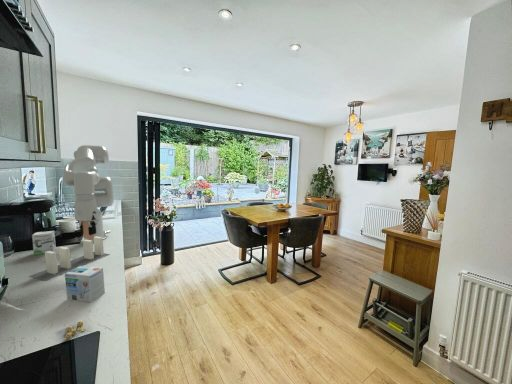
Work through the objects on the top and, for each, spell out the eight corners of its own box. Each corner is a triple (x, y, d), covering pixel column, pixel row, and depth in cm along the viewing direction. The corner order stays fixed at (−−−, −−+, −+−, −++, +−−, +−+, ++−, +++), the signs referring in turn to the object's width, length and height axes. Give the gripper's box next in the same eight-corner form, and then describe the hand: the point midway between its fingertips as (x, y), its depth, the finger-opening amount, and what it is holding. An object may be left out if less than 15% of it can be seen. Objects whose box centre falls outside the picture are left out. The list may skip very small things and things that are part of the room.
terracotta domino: (87, 236, 108) (85, 217, 107) (94, 238, 107) (92, 218, 106) (83, 237, 107) (81, 218, 106) (90, 239, 105) (89, 219, 104)
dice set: (66, 343, 63) (65, 337, 63) (62, 334, 67) (62, 328, 66) (87, 333, 67) (87, 327, 67) (83, 325, 70) (82, 319, 70)
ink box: (33, 255, 120) (30, 235, 119) (36, 252, 124) (34, 232, 123) (54, 252, 124) (51, 232, 123) (56, 249, 129) (54, 230, 127)
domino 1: (51, 270, 103) (48, 250, 102) (58, 272, 101) (56, 252, 100) (47, 272, 101) (44, 252, 100) (54, 274, 100) (51, 253, 99)
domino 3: (87, 256, 118) (85, 239, 117) (94, 258, 117) (92, 240, 116) (84, 258, 117) (82, 240, 116) (90, 259, 115) (89, 241, 114)
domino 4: (97, 253, 124) (96, 236, 122) (103, 254, 122) (102, 237, 121) (94, 254, 122) (93, 237, 121) (101, 255, 121) (99, 238, 119)
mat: (95, 252, 126) (95, 251, 126) (110, 255, 122) (110, 254, 122) (28, 277, 98) (28, 276, 98) (45, 282, 94) (45, 281, 94)
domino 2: (64, 265, 108) (62, 246, 107) (71, 267, 107) (69, 248, 105) (60, 267, 107) (58, 247, 105) (67, 268, 105) (65, 249, 104)
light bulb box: (66, 300, 82) (63, 273, 81) (82, 289, 89) (80, 265, 87) (91, 303, 81) (88, 275, 79) (105, 292, 87) (103, 267, 86)
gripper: (64, 197, 103) (68, 233, 106) (89, 199, 98) (93, 238, 101) (81, 195, 110) (84, 229, 113) (105, 197, 105) (108, 233, 108)
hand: (88, 233), depth 107 cm, fingers closed on terracotta domino, 4 cm apart
